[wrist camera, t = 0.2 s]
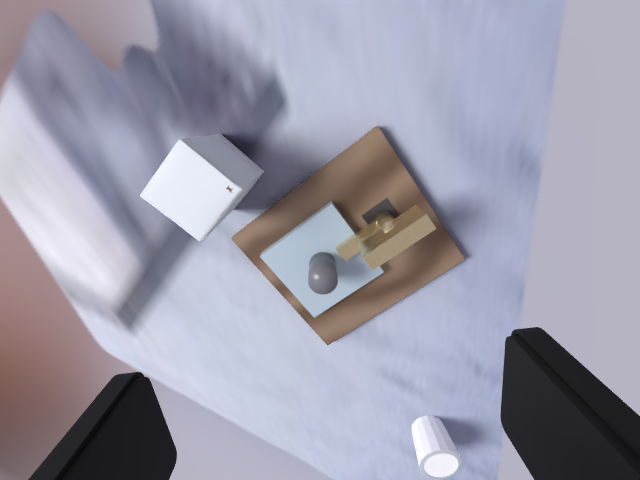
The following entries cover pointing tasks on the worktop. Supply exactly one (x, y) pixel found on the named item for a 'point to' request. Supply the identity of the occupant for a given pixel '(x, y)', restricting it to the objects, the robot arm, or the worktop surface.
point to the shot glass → (435, 449)
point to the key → (387, 236)
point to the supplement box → (201, 183)
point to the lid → (318, 261)
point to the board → (358, 210)
